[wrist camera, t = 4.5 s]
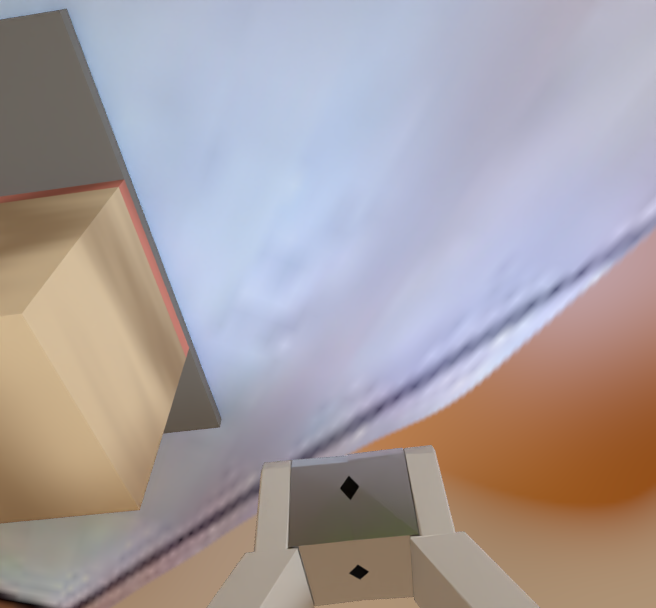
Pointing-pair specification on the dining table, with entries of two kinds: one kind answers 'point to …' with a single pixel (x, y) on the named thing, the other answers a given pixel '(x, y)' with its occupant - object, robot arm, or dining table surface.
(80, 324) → the cube
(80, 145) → the mat
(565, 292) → the dining table surface
